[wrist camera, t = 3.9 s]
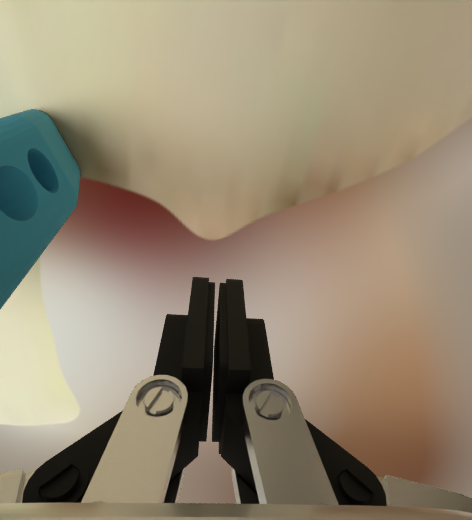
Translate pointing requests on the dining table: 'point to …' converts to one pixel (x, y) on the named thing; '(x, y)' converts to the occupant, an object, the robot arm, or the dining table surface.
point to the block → (32, 192)
